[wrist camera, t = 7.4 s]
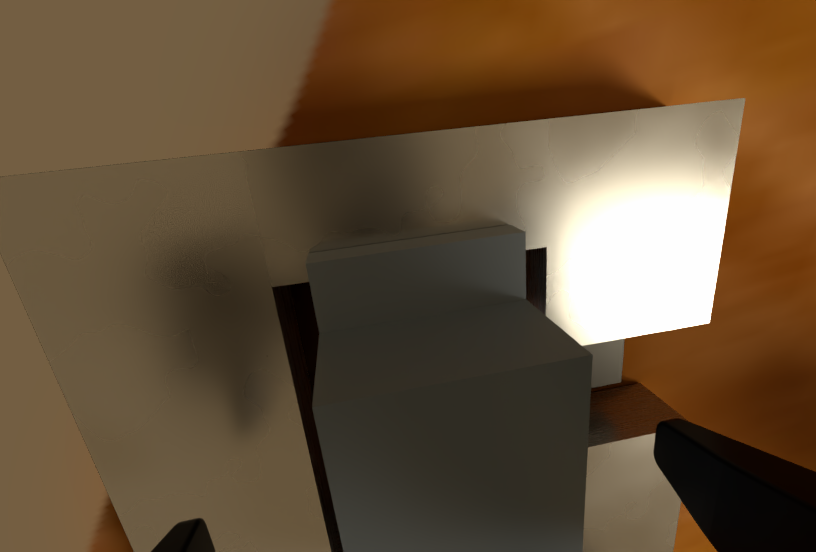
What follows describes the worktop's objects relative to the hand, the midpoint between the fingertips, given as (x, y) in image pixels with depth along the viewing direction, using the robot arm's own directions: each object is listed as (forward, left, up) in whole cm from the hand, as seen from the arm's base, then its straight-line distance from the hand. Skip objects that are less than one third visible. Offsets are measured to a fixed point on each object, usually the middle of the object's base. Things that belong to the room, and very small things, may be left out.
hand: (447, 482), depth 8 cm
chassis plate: (0, 0, -4) cm, 4 cm away
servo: (-2, 0, -4) cm, 4 cm away
